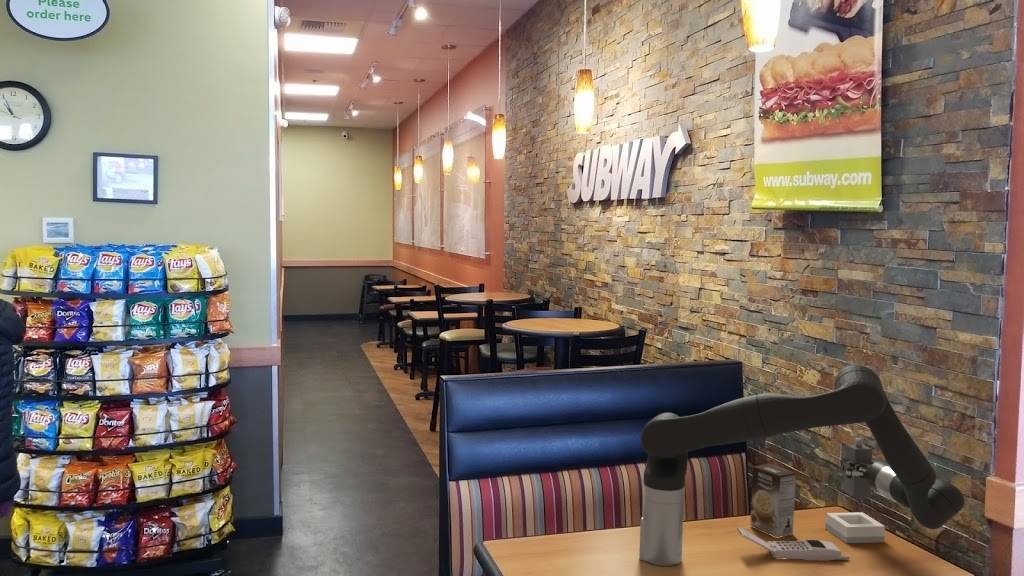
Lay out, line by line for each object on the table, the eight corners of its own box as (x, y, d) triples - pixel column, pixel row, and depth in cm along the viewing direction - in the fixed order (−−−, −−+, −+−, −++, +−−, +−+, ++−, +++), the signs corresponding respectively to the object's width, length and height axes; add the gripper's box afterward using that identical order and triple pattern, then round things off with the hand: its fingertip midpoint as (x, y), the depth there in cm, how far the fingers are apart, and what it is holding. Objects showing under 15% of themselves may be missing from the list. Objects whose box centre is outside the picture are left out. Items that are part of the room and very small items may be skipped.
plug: (853, 496, 196) (855, 441, 196) (843, 491, 201) (845, 436, 200) (870, 496, 197) (872, 441, 196) (860, 491, 201) (862, 436, 201)
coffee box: (748, 527, 204) (751, 465, 203) (766, 523, 207) (769, 462, 206) (776, 539, 195) (779, 475, 194) (794, 535, 199) (797, 472, 198)
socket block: (845, 543, 194) (846, 527, 194) (825, 528, 204) (825, 513, 204) (884, 542, 195) (885, 526, 195) (861, 527, 205) (862, 512, 205)
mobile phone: (735, 525, 188) (841, 528, 188) (734, 549, 189) (840, 552, 189) (742, 535, 182) (851, 538, 182) (741, 560, 183) (850, 563, 183)
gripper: (921, 465, 185) (878, 446, 202) (863, 466, 183) (825, 447, 200) (919, 496, 185) (877, 475, 202) (862, 498, 184) (824, 476, 201)
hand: (852, 461), depth 201 cm, fingers closed on plug, 4 cm apart
